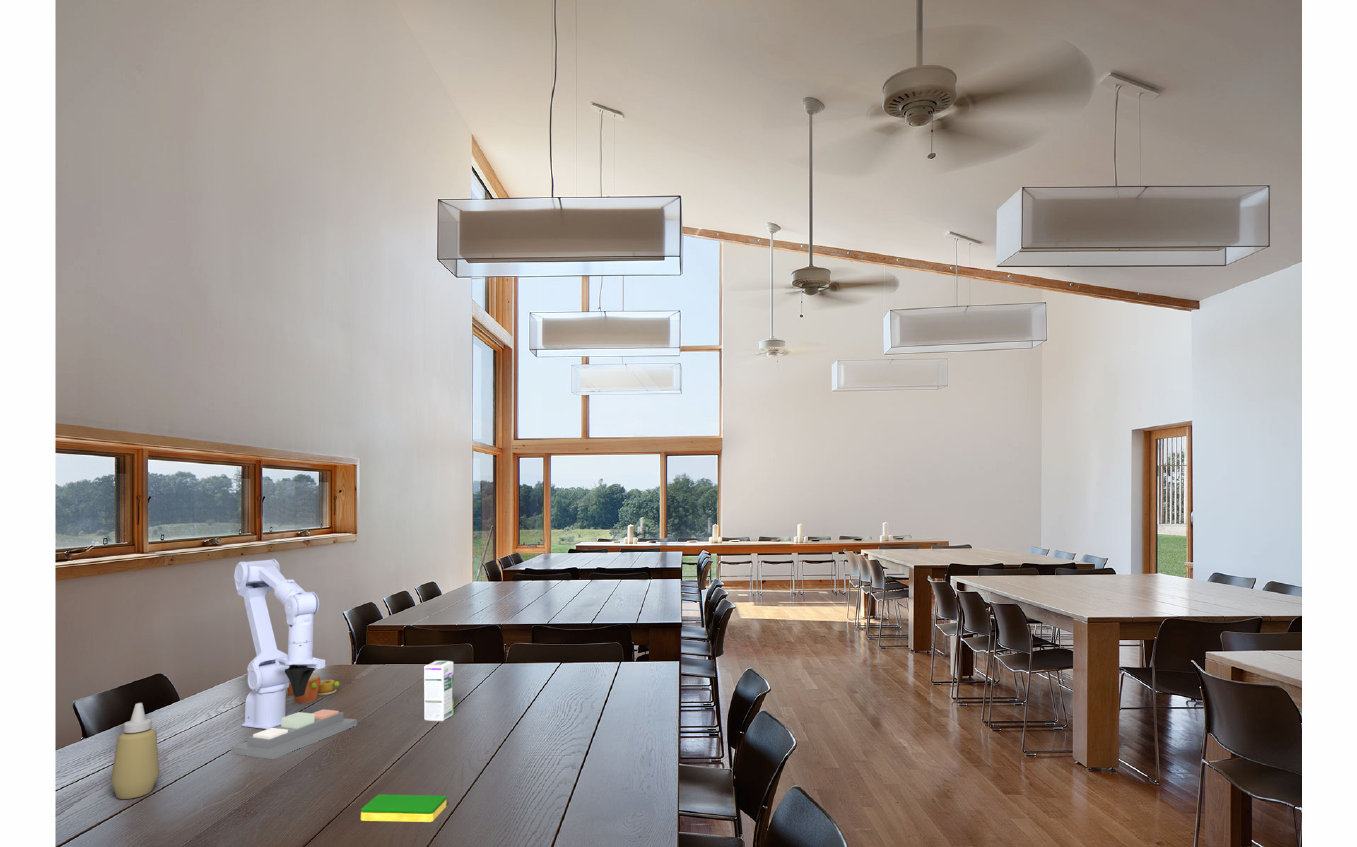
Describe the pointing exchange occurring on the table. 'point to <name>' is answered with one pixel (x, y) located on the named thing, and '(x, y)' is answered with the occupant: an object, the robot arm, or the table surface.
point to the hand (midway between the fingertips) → (299, 695)
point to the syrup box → (438, 691)
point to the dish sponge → (403, 808)
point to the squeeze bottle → (135, 757)
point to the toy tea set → (314, 689)
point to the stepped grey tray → (294, 738)
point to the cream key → (270, 733)
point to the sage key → (297, 720)
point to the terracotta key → (324, 714)
